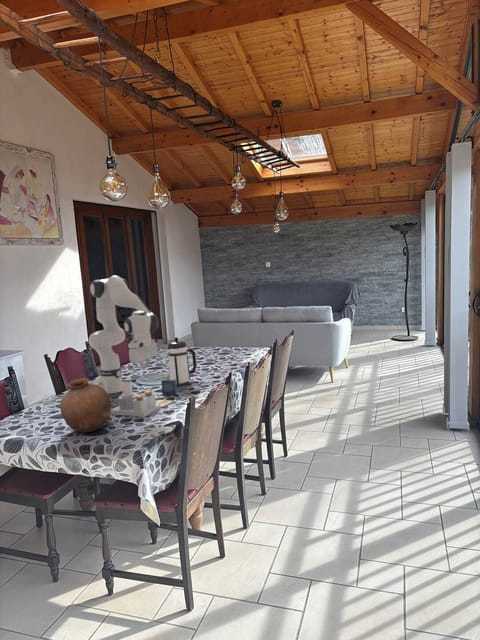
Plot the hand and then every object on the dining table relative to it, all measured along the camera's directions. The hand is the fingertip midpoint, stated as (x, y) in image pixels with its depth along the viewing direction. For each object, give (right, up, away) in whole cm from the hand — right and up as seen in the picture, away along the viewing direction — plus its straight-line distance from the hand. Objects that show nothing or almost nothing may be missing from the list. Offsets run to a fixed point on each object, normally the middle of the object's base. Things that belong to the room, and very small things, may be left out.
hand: (145, 367), depth 251 cm
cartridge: (-10, -22, +4) cm, 24 cm away
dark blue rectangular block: (+9, -19, +29) cm, 35 cm away
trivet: (+6, -21, +11) cm, 25 cm away
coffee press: (+13, -15, +52) cm, 55 cm away
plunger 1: (-2, -21, -4) cm, 21 cm away
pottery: (-23, -28, -21) cm, 42 cm away
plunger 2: (+1, -20, +3) cm, 20 cm away
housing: (-6, -23, +3) cm, 24 cm away
